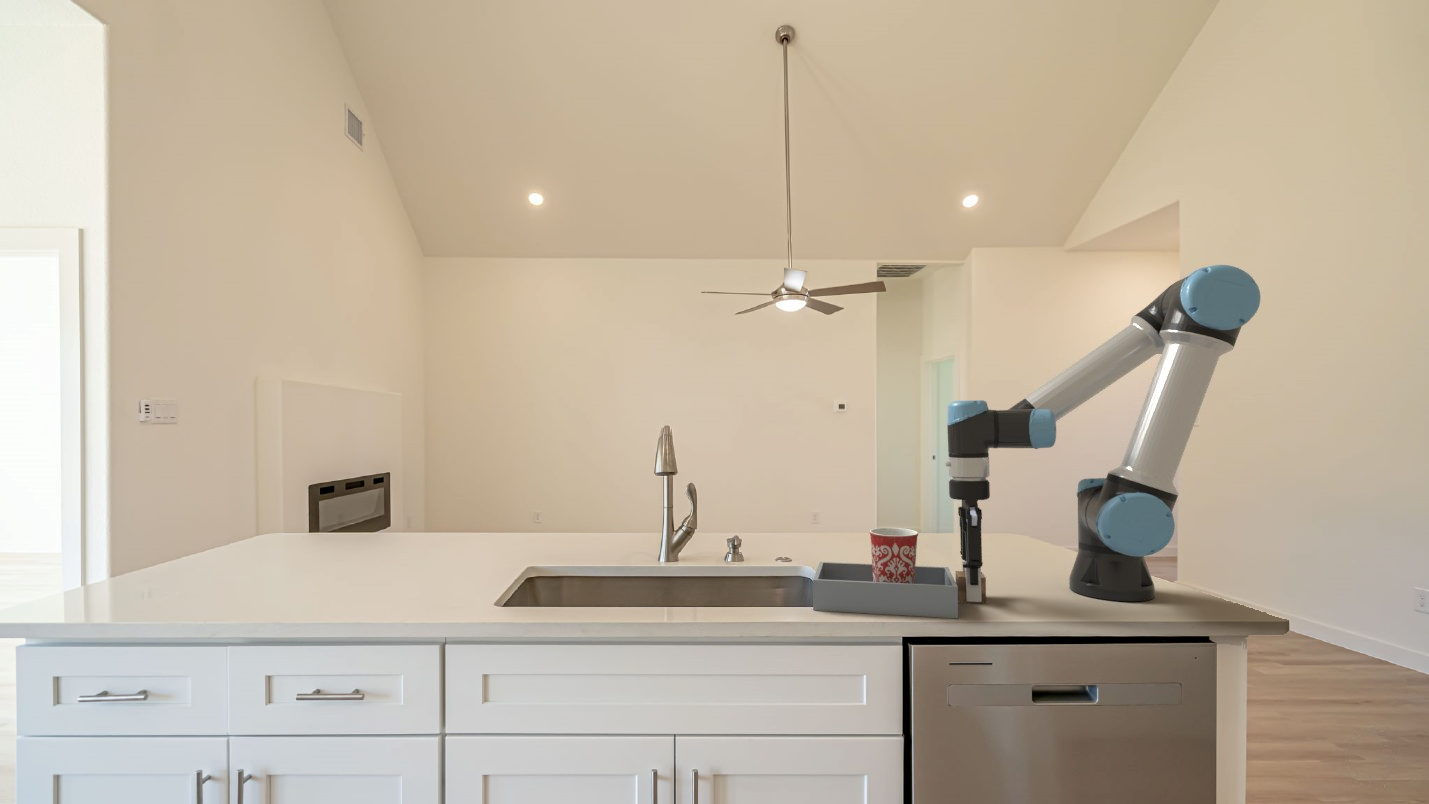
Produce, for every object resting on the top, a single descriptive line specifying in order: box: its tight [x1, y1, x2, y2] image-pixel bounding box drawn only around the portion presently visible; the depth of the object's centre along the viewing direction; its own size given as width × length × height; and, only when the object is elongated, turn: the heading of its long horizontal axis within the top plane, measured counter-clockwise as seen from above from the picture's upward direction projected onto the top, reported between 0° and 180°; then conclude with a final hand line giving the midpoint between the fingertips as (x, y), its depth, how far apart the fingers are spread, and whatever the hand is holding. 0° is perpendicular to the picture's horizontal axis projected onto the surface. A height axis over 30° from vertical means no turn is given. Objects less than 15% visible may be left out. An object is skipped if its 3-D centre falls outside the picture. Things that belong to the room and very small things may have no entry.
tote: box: [812, 561, 959, 619], centre depth 137 cm, size 26×17×6 cm, turn 77°
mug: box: [869, 527, 919, 584], centre depth 137 cm, size 13×9×14 cm
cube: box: [955, 570, 987, 604], centre depth 139 cm, size 5×5×5 cm
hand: (971, 597), depth 139 cm, fingers closed on cube, 5 cm apart
